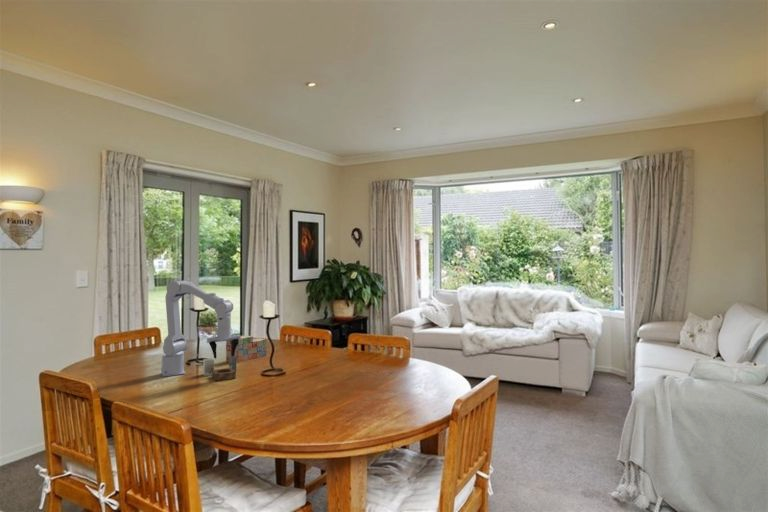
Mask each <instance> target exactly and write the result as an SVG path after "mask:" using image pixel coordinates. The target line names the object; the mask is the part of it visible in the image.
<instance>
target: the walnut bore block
mask: <svg viewBox="0 0 768 512" xmlns="http://www.w3.org/2000/svg"><path fill="white" fill-rule="evenodd" d="M236 373H237V371H236V372H235V371H234V370H233V369H232V368H229V367H226V368H218V369H214V370H212V375H211V377H212V378H213V379H214V380H215V381H214V382H221V381H225V380H226V381H228V380H234V379H236V378H237V377H236V376H237V375H236Z"/></svg>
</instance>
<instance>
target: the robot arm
mask: <svg viewBox="0 0 768 512" xmlns="http://www.w3.org/2000/svg"><path fill="white" fill-rule="evenodd" d="M187 294H191V295H192V296H195V297H197V298H199V299H201V300H203V304H204V305H206V306H208V307H210V308H212V309H213V310H214V311H215V313H216V317H217V328H216V329H217V331H216V332H217V333H216V335H217V336H213V337H207V338H206V343H207V344H209V345H210V349H211V351H212V355H213V359H217V347H218V346H217V343H218V342H219V343H221V342H226V341H231V356H234V353H235V349H236V347H237V345H238V343H239V341H238V340H241V336H242V335H240V334H239V335H238V334H236V335H235V334H234V335H231V333H232V332H231V329H232V326H231V324H232V323H231V321H232V320H231V318H232V317H231V316H232V312H233V309H234V303H233V302H232V301H231V300H229V299H227V300H225V299H224V298H223V297H220V296H218V295H217V294H216V293H215V292H206V291H205V290H204V289H202V288H200V287H198V286H197V285H196V284H195V283H194V282H192V281H190V280H189V279H185V280H172V281H170V282H169V283H168V284H167V285H166V294H165V311H166V324H167V336H165V339H164V340H163V346H162V350H163V353H164V354H165V355H162V356H161V368H160V370H161V371H160V372H161V375H162V377H172V376H179V375H185V374H186V371H185V370H184V369H185V368H184V366H185V363H184V362H185V360H184V359H185V358H184V355H185V352H186V351H187V348H188V343H187V339H186V336H185V335H184V334H183V333H182V328H181V326H182V325H181V315H180V303H179V301H180V299H182V298H183V296H186V295H187Z"/></svg>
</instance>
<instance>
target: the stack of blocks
mask: <svg viewBox="0 0 768 512" xmlns="http://www.w3.org/2000/svg"><path fill="white" fill-rule="evenodd" d="M240 336H241V340H238V341H239V343H238V345H237V347H236V349H235V353H234V356H235V357H236V364H237V363H240V362H245V361H249V360H254V359H257V358H258V359H259V358H261V357H266V356H267V339H266V338H260V337H258V338H254V336H252V335H245V334H244V335H240ZM225 343H226V344H225V346H226V347H225V350H226V351H225V361H226V362H227V363H229V356H231V341H225Z"/></svg>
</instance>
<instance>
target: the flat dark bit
mask: <svg viewBox="0 0 768 512" xmlns="http://www.w3.org/2000/svg"><path fill="white" fill-rule="evenodd" d="M228 368H232V369H233V370H234V371H235V372H236V373H237V363H236V357H235V356H229V362H228Z"/></svg>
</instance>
